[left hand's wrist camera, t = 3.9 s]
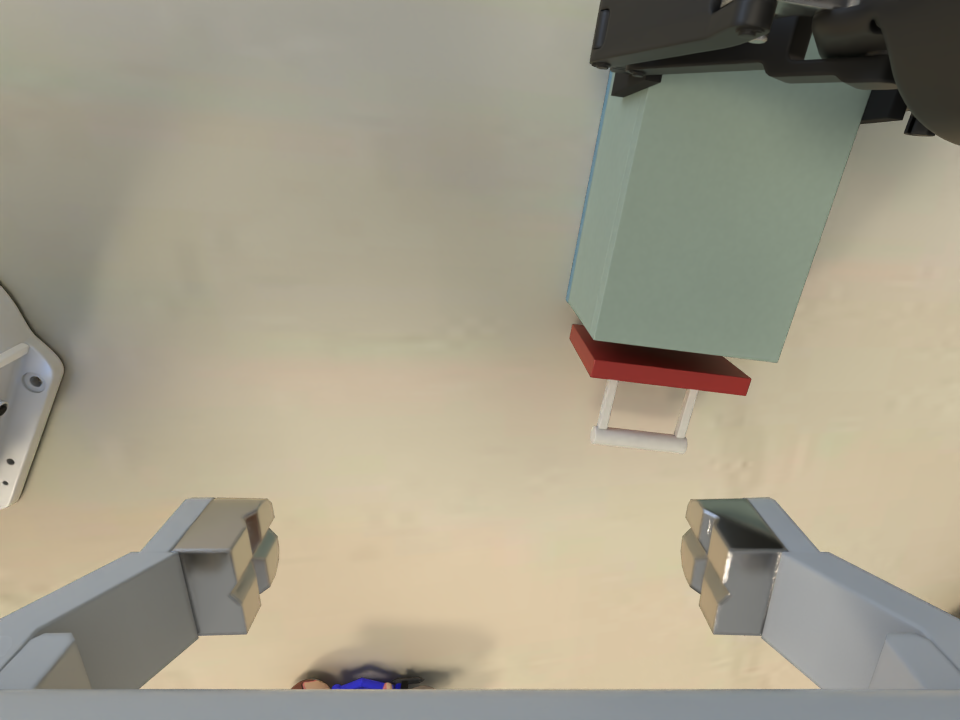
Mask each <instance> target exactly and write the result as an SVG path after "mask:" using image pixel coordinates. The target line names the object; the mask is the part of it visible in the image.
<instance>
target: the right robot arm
mask: <svg viewBox="0 0 960 720" xmlns="http://www.w3.org/2000/svg"><path fill="white" fill-rule="evenodd" d="M812 32H813V36H814V39H815V43H816V46H817V49H818V53H819V55H820V57H821V58H822V59H812V60H804V59H805V55H806V52H807V49H808V45H809V42H810V39H811V35H812ZM590 64H592V66H594V67H597V68H599V69H608V68H609V67H610V71H611V72H614V73H615V77H614V82H613V87H612V92H611V96H616V97H623V98H624V97H626V96H629V95H631V94H634V93H636V92H638V91H641V90H643V89H646V88H648V87H651V86H653V85H656V84H658V83H661V79H662V75H663V74H685V73H708V72H730V71H752V70H765V73H766V74H767V75H768V76H770V77H773V78H775V79H777V80H780V81H782V82H785V83H789V84H796V83H836V82H844V83H846V84H848V85H850V86H852V87H854V88H856V89H860V90H871V93H870V96H869V99H868V102H867V105H866V108H865V110H864V113H863V116H862V119H861V122H860V124H866V123H877V122H887V121H898V120H903V117H904V114H905V111H911V112H912V113H911V115H910V118H909V121H908V123H907V126H906V129H905V131H904V134H907V135H913V136H935V134H936V135H938V136H939V137H941V138H943V139H945V140H947V141H949V142H951V143H954V144H957V145H960V0H601V2H600V7H599V13H598V18H597V23H596V29H595V34H594V40H593V46H592V52H591V57H590Z"/></svg>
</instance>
